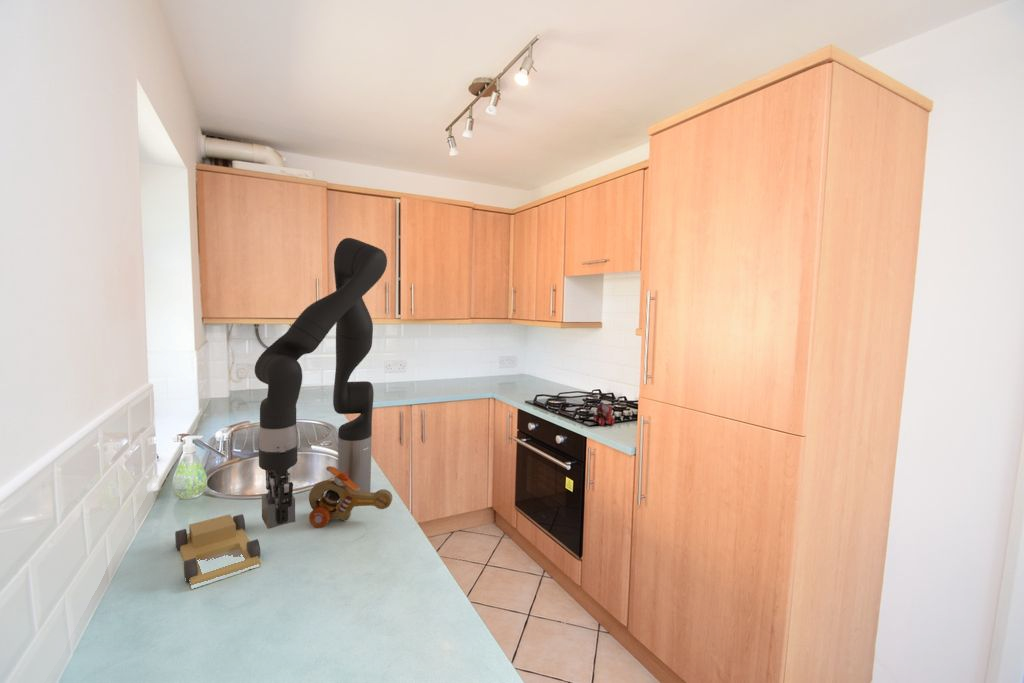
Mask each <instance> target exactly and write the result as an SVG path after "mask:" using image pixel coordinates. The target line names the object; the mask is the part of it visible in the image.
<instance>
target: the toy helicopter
mask: <svg viewBox="0 0 1024 683" xmlns="http://www.w3.org/2000/svg"><path fill="white" fill-rule="evenodd" d="M325 469H326V471H327V472H329V473H331V475H333V476H334V478H333V480H332V479H329V480H328V479H327V480H322V481H318V482H317V483H316V484H315V485H313V487H312V488H311V490H310V492H309V494H308V502H309V503H308V504H309V506H310V507H311V510H312V511H311V512H310V513H309V516H308V521H309V524H310V525H311V526H313V527H314V528H324V526H326V525H327V524H328V523H329V522H330V520H335V519H340V521H342V520H347V521H348V520H350V518H351V516H352V511H353V508H355V507H365V506H367V507H369V506H371V507H376V508H377V509H379V510H385V509H388V508H389V507H390V505H391V504H392V501H393V494H392V492H390V490H388V489H384V488H383V489H379V490H377V491H375V492H371V491H370V492H355V491H359V490H360V487H359V486H357V485H356V484H355V483H354V482H352V481H351V480H350V479H349V478H348V474H347V473H342V472H341V471H339V470H338V468H336V467H335V466H331V465H329V466H326V468H325ZM353 490H354V491H353ZM325 492H326V493H325Z"/></svg>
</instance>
